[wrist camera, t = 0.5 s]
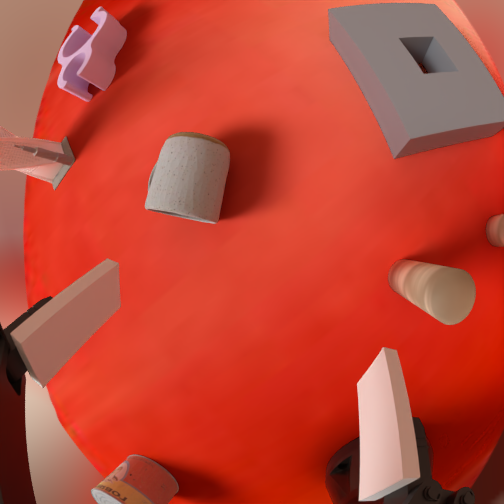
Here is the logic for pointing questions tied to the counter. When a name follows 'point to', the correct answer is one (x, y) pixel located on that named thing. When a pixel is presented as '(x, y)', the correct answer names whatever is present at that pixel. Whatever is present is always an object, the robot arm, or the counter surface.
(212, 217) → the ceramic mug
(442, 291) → the long pin
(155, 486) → the canned food
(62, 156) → the skyscraper
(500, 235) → the short pin
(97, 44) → the clip
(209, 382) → the counter surface
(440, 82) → the hole block
